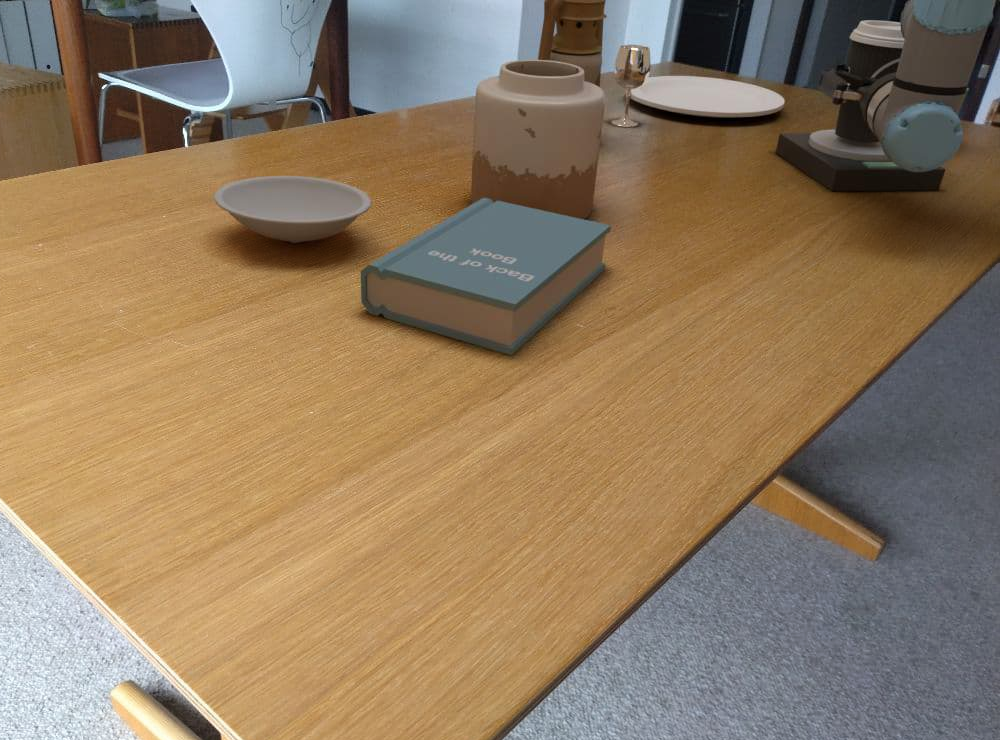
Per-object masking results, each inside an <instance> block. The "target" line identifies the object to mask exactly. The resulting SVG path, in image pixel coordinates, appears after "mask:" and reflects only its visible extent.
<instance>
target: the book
mask: <svg viewBox="0 0 1000 740" xmlns="http://www.w3.org/2000/svg"><path fill="white" fill-rule="evenodd" d="M610 232H611V225H610V224H606V223H601V222H598V221H592V220H587V219H584V220H583V219H579V218H574V217H570V216H565V215H561V214H556V213H552V212H547V211H543V210H538V209H533V208H529V207H524V206H520V205H515V204H511V203H506V202H502V201H496V202H494V203H493V202H492V200H491V199H488V198H482V199H480V200H478V201H477V202H475V203H473V204H472V203H471V204H470V205H468V206H467V207H465V208H463V209H461V210H460V211H458V212H456V213H455V214H453V215H451V216H449V217H448V218H446V219H445V220H442V221H441V222H439V223H437V224H436V225H434V226H433V227H431V228H429V229H427V230H426V231H424V232H422V233H421V234H418V235H417V236H416V237H414V238H412V239H410V240H408V241H407V242H405V243H403V244H402V245H400V246H398V247H396V248H395V249H393V250H391V251H390V252H388V253H386V254H384V255H383V256H381V257H379V258H378V259H376V260H374V261H373V262H371V263H370V264H368V265H366V266H365V267H364V268H362V270H360V298H361V299H360V302H361V304H362V305H363V307H364V308H365V309H366V310H367V312H368V313H369V314H370V315H374V316H379V315H382V316H383V317H384V318H385V319H388V320H391V321H394V322H398V323H401V324H404V325H408V326H411V327H415V328H418V329H421V330H425V331H428V332H432V333H435V334H438V335H441V336H444V337H448V338H452V339H455V340H458V341H461V342H465V343H468V344H472V345H475V346H478V347H482V348H485V349H488V350H492V351H495V352H499V353H502V354H506V355H508V356H513V355H514V354H515V353H516V352H517V351H518V350H519V349H521V347H522V346H523V345H525V344H526V343H527V342H528V341H529V340H530V339H531V338H532V337H534V335H536V334H537V333H538V332H539V331H540V330H541V329H542V328H543V327H544V326H545V325H546V324H548V323H549V322H550V321H551V320H552V319H553V318H554V317H556V315H557V314H558V313H560V311H562V310H563V309H564V308H566V306H567V305H568V304H569V303H571V301H573V299H574V298H576V297H577V296H578V295H579V294H580V293H582V292H583V290H584V289H585V288H587V287H588V286H589V285H590V284H591V283H592V282H594V280H595V279H596V278H597V277H598V276H600V275H601V274H602V273H603V272H604V271H605V270H606V263H605V262H603V258H604V251H605V242H606V236H607V235H608V234H609V233H610Z"/></svg>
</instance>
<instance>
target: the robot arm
mask: <svg viewBox="0 0 1000 740" xmlns="http://www.w3.org/2000/svg"><path fill="white" fill-rule="evenodd" d="M999 3H1000V0H907V1H906V3H905V4H904V8H903V10H902V11H901V15H900V21H899V23H900V25H901V32H902V36H903V38H904V40H905V42H904V45H903V49H902V53H901V57H900V61H899V64H898V68H897V72H895V73H891V74H887V75H885V76H883V77H881V78H879V79H878V80H877V79H875V78H861V77H859V76H856V75H854V74H851V73H849V68H848V65H847V64H846V63H845V62H844V60H843V59H836V63H835V67H834V68H831V69H829V68H823V69H822V70H821V73H820V77H819V82H818V85H817V89H818V90H819V91H820V92H822V93H823V94H824V95H826V96H827V97H828V98H830V99H831V100H832V104H833V105H835V106H840V104H842V103H846V101H847V99H850V100H854V102H855V104H856V105H858V106H861V110H862V115H863V118H864V120H865V122H866V124H867V125H868V127H869V128H870V129H871V130H872V132H873V133H874V135H875V137H876V138H877V139H878V141H879V142H880V144H881V146H882V148H883V151H884V154H885V155H886V156H888V158H889V159H890V160H891V161H892V162H894V163H895V164H896V165H898V166H899V167H900V168H902V169H904V170H907V171H911V172H926V171H930V170H933V169H936V168H938V167H942V166H944V165H945V164H946V163H948V162H949V161H950V160H951V159H952V158H953V157H954V156H955V155H956V153H957V152H958V150H959V148H960V146H961V144H962V141H963V135H964V130H963V126H962V120H961V119H960V112H961V109H962V106H963V104H964V102H963V100H964V101H965V99H964V97H965V94H966V90H967V88H969V85H968V84H969V82H970V79H971V76H972V73H973V70H974V67H975V65H976V61H977V58H978V56H979V54H980V51H981V47H982V45H983V42H984V38H985V36H986V34H987V30H988V27H989V25H990V23H992V21H993V18H994V13H993V12H994V8H995V7H996V6H997V5H998V4H999ZM965 98H966V97H965ZM962 103H963V104H962Z"/></svg>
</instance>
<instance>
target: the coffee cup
mask: <svg viewBox="0 0 1000 740" xmlns="http://www.w3.org/2000/svg"><path fill="white" fill-rule="evenodd" d="M849 39H850V40H851V46H850V52H849V57H848V61H847V62H848V63H847V67H848V68H849V73H851V74H854V75H856V76H859V77H861V78H875V79H877V80H878V79H879V78H881V77H883V76H885V75H887V74H891V73H895V72H897V68H898V64H899V61H900V57H901V53H902V49H903V45H904V42H905V40H904V38H903V36H902V32H901V25H900V22H898V21H890V20H889V21H888V20H878V19H877V20H875V19H870V20H869V19H867V20H861V21H860V22H859V24H858V25H857V27H856V28H855V29H853V30H852V32H851V34H850V36H849ZM834 130H835V134H836V135H837V136H839V137H841V138H844V139H847V140H852V141H857V142H866V143H875V142H879V141H878V139H877V138H876V137H875V135H874V133H873V132H872V130H871V129H870V128H869V127H868V125H867V124H866V122H865V120H864V118H863V115H862V110H861V106H858V105H856V104H855V102H854V100H850V99H847V101H846V103H842V104H840V105H839V109H838V114H837V120H836V125H835V129H834Z"/></svg>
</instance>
